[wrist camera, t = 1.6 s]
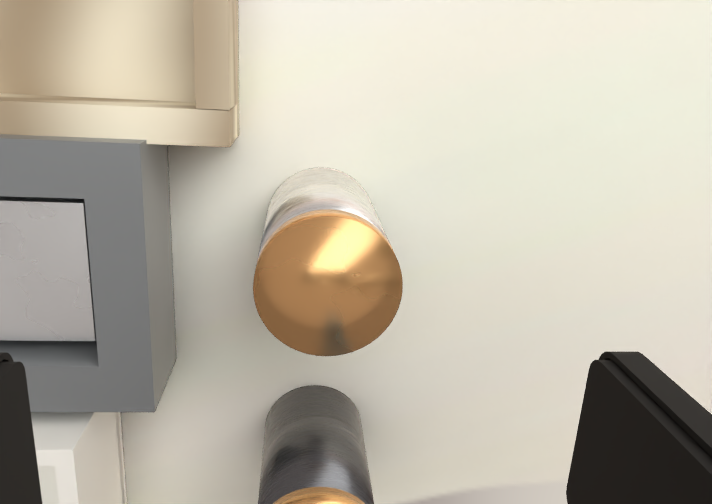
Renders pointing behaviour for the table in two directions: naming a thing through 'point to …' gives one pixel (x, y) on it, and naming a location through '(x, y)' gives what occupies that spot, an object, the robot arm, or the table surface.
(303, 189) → the cylinder
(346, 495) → the black cell
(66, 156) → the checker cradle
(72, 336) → the plate
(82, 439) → the cup
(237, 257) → the table surface
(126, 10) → the trough
